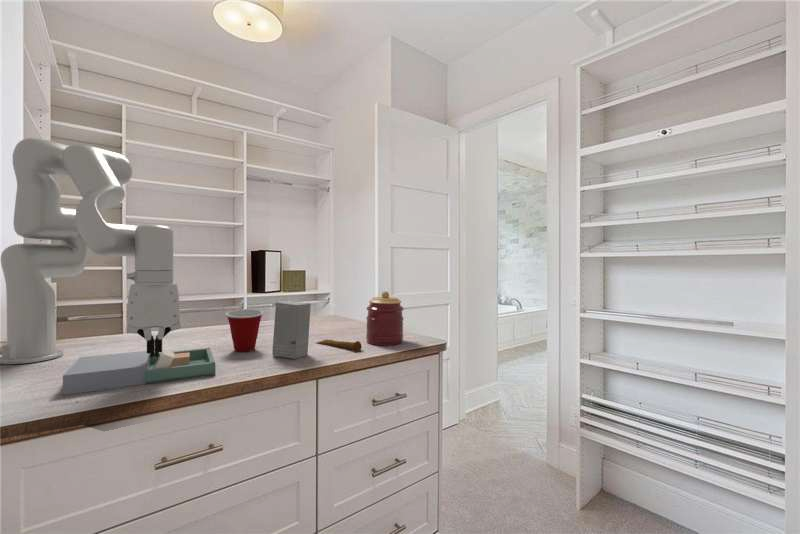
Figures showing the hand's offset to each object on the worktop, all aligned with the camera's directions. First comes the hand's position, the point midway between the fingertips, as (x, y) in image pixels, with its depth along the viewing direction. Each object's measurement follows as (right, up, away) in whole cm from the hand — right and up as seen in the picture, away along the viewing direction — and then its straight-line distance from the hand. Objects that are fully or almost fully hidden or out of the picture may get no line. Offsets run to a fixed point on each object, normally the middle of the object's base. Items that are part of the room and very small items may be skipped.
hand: (154, 355), depth 87 cm
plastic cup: (+10, -5, +27) cm, 29 cm away
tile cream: (+1, -1, 0) cm, 2 cm away
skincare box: (+26, -5, +22) cm, 34 cm away
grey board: (-9, -5, -1) cm, 11 cm away
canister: (+53, -5, +42) cm, 67 cm away
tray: (+3, -5, +6) cm, 9 cm away
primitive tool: (+37, -6, +34) cm, 51 cm away
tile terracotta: (0, -2, +9) cm, 9 cm away
